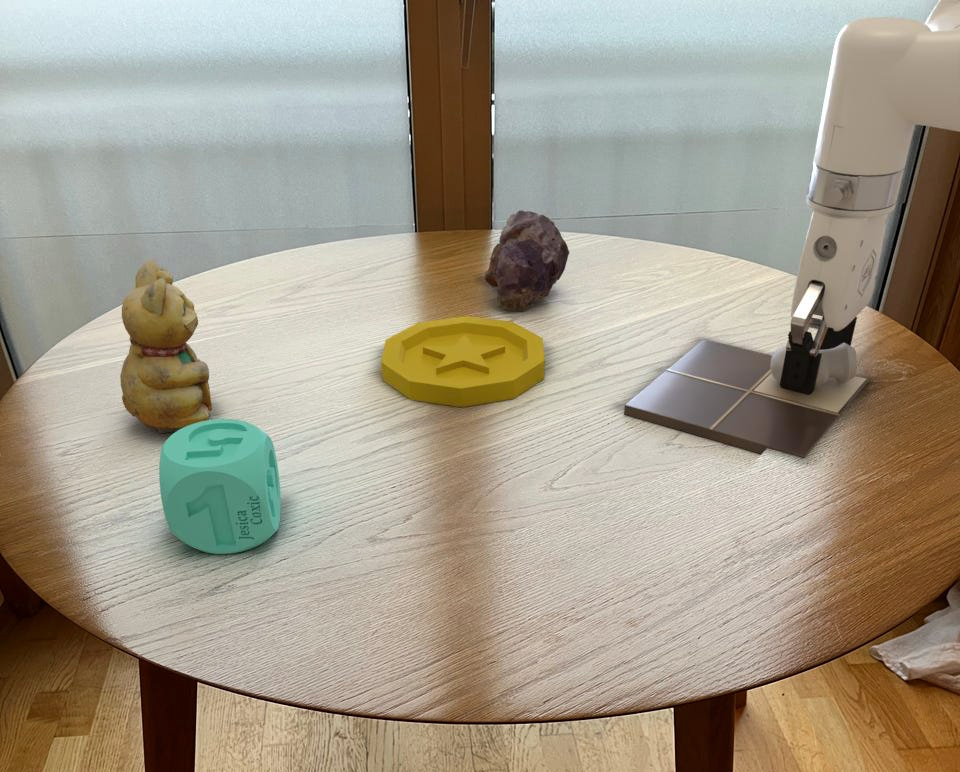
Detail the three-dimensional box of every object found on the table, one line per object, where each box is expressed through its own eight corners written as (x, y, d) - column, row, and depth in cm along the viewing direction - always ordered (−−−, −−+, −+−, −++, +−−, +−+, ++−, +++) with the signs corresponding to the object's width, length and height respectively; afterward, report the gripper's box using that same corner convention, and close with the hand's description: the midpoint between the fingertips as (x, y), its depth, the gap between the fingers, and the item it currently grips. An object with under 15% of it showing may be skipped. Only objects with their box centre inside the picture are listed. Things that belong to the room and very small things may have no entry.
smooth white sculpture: (766, 400, 98) (768, 364, 101) (850, 406, 97) (851, 369, 99) (772, 367, 94) (774, 330, 97) (860, 372, 93) (860, 335, 96)
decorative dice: (175, 558, 79) (152, 471, 74) (190, 503, 85) (170, 420, 80) (275, 552, 80) (259, 465, 75) (283, 499, 86) (269, 415, 81)
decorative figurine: (229, 433, 95) (197, 277, 85) (142, 454, 92) (99, 295, 82) (202, 392, 101) (170, 243, 92) (120, 411, 99) (78, 259, 89)
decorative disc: (575, 357, 106) (576, 339, 105) (477, 422, 96) (476, 403, 94) (452, 321, 114) (452, 304, 113) (348, 378, 103) (346, 360, 102)
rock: (485, 324, 116) (571, 320, 116) (482, 255, 110) (573, 251, 109) (483, 272, 124) (564, 268, 124) (481, 204, 117) (566, 200, 117)
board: (867, 388, 100) (870, 378, 99) (802, 466, 88) (804, 455, 88) (702, 347, 108) (703, 337, 107) (623, 414, 96) (624, 404, 96)
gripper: (864, 222, 79) (820, 416, 90) (926, 167, 90) (880, 347, 101) (774, 207, 82) (743, 396, 93) (844, 156, 93) (809, 331, 104)
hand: (814, 371), depth 97 cm, fingers open, 9 cm apart
